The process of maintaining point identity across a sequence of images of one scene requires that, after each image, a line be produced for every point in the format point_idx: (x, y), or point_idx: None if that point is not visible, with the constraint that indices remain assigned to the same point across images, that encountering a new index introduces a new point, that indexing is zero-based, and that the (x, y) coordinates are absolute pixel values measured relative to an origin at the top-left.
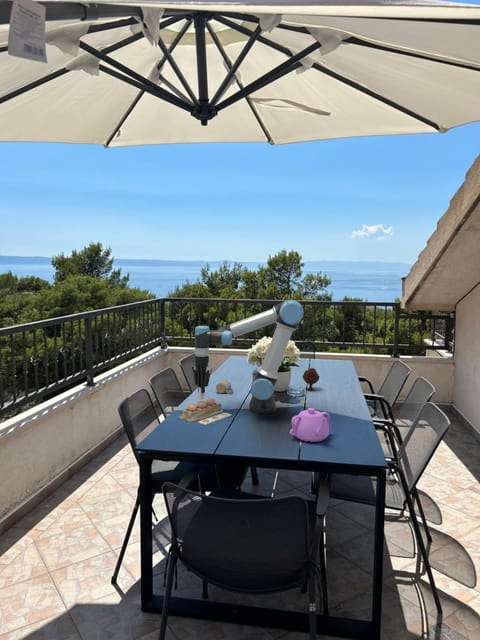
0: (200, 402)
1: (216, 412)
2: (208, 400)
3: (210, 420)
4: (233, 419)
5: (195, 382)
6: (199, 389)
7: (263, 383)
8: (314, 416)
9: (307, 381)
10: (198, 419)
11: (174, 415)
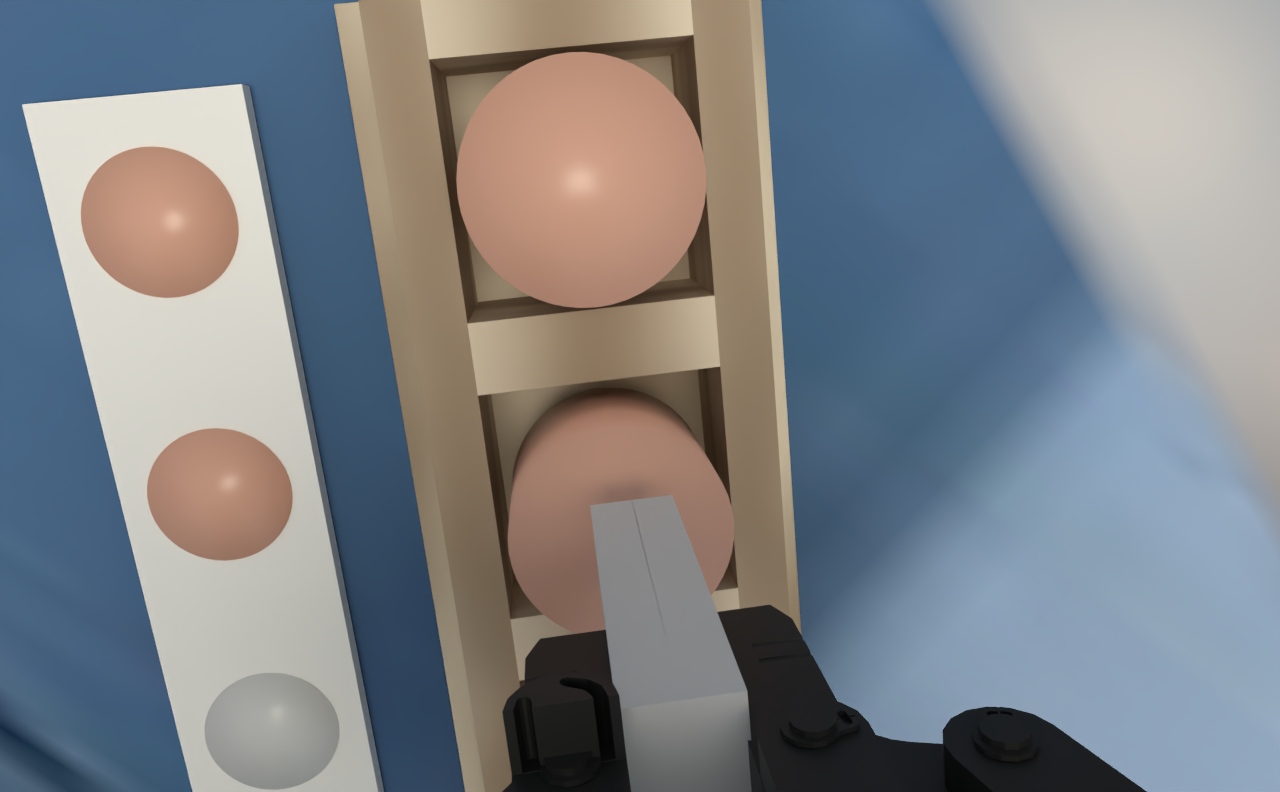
0: None
1: (450, 690)
2: None
3: (146, 329)
4: (3, 727)
5: (1066, 784)
6: (679, 648)
7: None
8: None
9: None
10: (369, 190)
11: (953, 14)
